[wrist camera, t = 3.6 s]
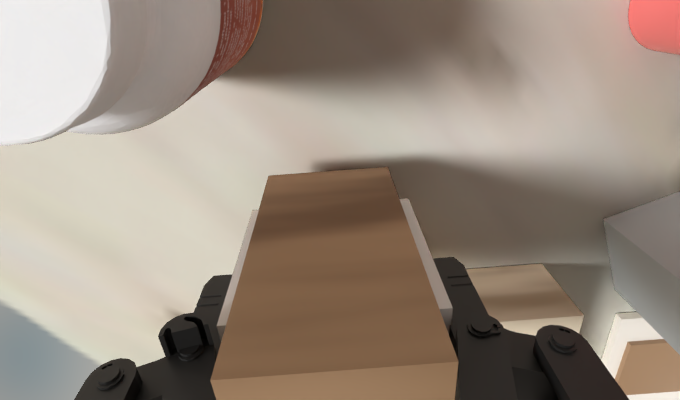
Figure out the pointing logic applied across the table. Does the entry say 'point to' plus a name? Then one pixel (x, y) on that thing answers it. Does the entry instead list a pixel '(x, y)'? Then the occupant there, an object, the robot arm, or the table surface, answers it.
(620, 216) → the slate pillar
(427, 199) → the table surface
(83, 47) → the pill bottle
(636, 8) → the figurine
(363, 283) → the walnut pillar
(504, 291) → the birch base
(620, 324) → the tile
